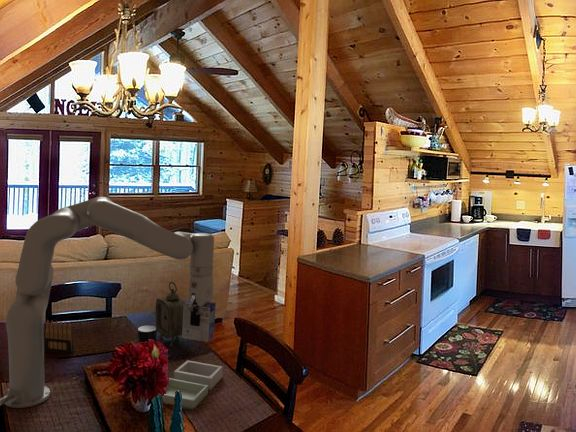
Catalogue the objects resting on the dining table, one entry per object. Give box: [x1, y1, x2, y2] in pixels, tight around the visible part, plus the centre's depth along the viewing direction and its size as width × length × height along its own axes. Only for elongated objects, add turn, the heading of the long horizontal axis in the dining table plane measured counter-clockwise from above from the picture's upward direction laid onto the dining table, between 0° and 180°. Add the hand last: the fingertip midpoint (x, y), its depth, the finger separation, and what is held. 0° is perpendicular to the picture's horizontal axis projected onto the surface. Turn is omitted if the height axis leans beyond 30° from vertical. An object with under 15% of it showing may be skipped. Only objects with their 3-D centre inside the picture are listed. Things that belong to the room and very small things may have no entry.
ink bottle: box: [134, 324, 160, 344], centre depth 180 cm, size 10×9×12 cm
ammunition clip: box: [44, 319, 74, 354], centre depth 184 cm, size 11×2×12 cm, turn 83°
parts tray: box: [162, 377, 209, 411], centre depth 154 cm, size 10×14×3 cm
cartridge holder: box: [173, 359, 224, 391], centre depth 167 cm, size 10×14×4 cm
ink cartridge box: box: [181, 300, 217, 343], centre depth 164 cm, size 10×6×14 cm, turn 78°
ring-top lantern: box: [155, 281, 187, 348], centre depth 198 cm, size 14×9×25 cm, turn 37°
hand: (199, 321), depth 164 cm, fingers closed on ink cartridge box, 5 cm apart
